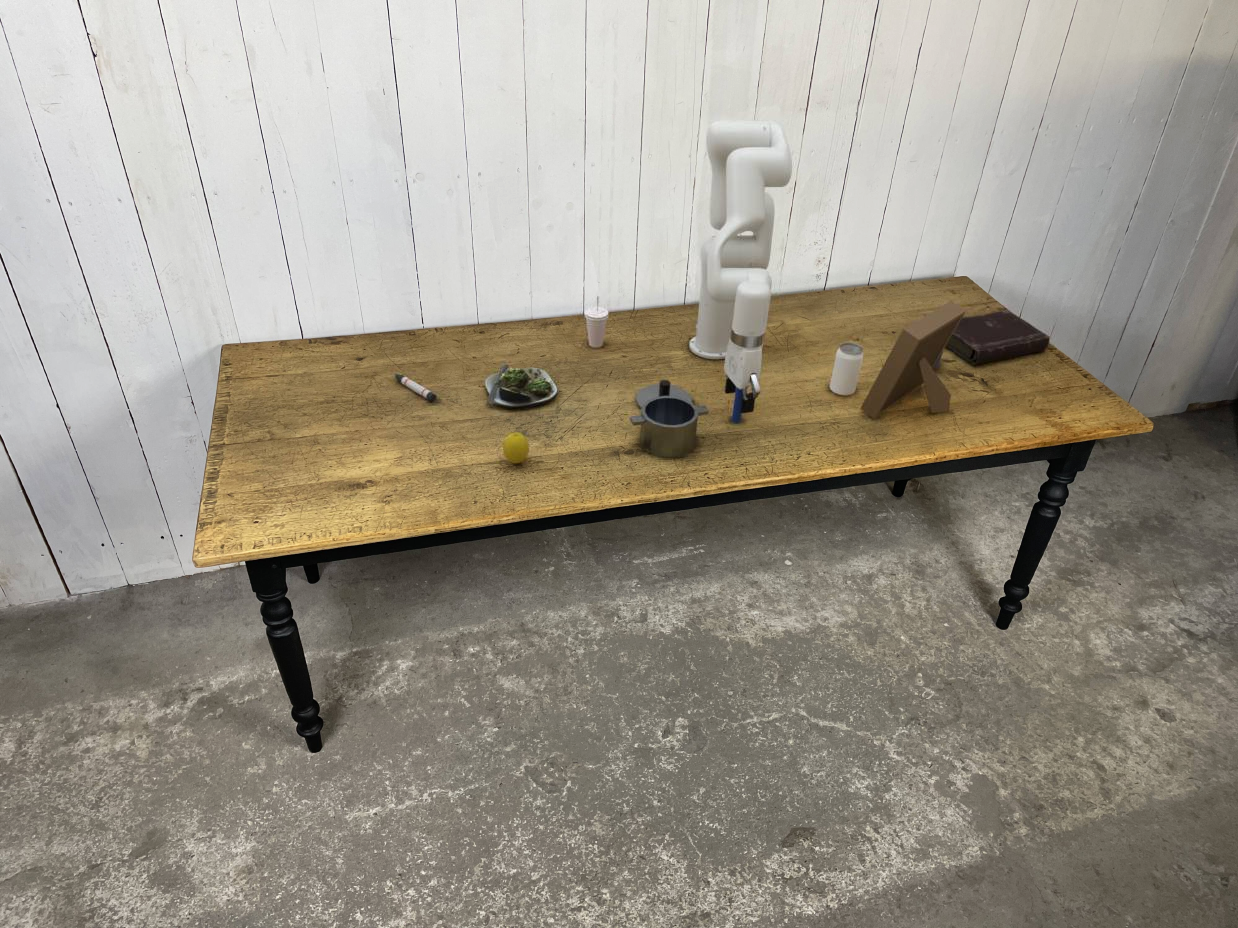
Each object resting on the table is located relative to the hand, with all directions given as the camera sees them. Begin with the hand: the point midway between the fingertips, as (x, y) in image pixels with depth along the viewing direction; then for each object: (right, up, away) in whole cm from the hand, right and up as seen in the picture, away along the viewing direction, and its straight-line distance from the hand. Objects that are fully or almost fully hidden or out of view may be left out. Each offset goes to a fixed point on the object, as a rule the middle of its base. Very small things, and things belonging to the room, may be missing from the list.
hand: (738, 402), depth 203 cm
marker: (-79, +4, +10) cm, 79 cm away
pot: (-17, -10, -5) cm, 20 cm away
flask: (+54, +11, +27) cm, 61 cm away
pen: (0, -4, +3) cm, 5 cm away
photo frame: (+44, -1, +10) cm, 45 cm away
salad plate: (-53, +3, +10) cm, 54 cm away
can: (+28, +4, +16) cm, 33 cm away
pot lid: (-17, +1, +8) cm, 19 cm away
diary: (+75, +19, +38) cm, 86 cm away
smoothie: (-34, +18, +31) cm, 49 cm away
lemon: (-51, -15, -13) cm, 54 cm away
